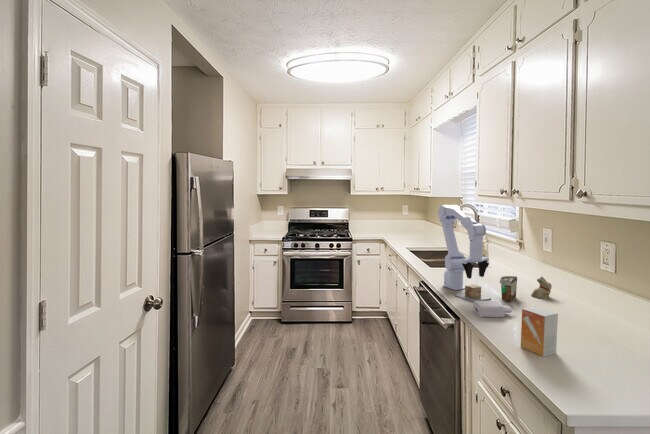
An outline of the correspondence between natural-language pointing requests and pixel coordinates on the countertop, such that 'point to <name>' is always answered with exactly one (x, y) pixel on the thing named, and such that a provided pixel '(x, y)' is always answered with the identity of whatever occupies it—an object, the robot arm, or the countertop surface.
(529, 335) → the small box
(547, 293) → the chocolate bunny
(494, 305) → the charger
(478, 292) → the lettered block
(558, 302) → the countertop surface
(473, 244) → the robot arm
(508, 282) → the food container
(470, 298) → the slate board
